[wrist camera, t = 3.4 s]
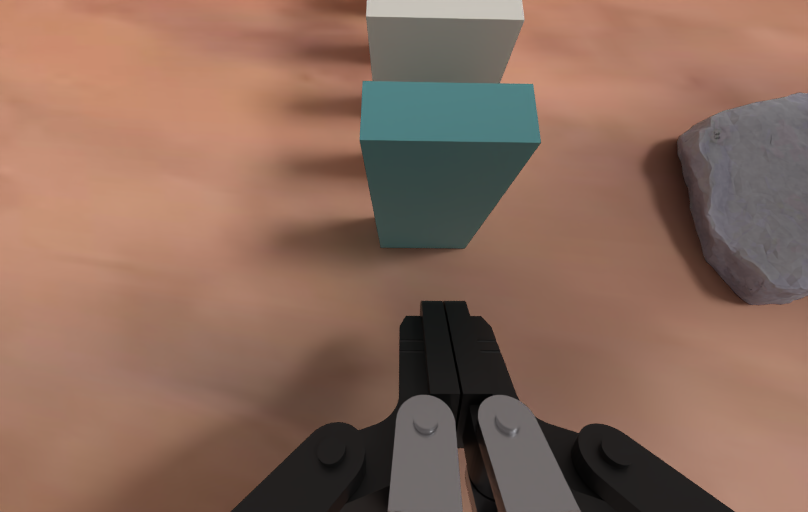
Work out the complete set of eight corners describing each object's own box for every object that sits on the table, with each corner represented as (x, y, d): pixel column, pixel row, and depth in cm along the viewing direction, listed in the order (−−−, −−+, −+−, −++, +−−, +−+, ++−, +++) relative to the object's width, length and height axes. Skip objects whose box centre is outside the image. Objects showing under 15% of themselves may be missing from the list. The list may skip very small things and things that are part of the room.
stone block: (706, 320, 19) (885, 277, 18) (782, 316, 14) (1030, 257, 13) (621, 163, 22) (767, 118, 21) (661, 119, 18) (850, 59, 17)
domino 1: (383, 152, 20) (368, -29, 10) (459, 153, 20) (518, -26, 10) (382, 179, 19) (366, 16, 9) (461, 180, 19) (524, 19, 10)
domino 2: (381, 216, 18) (362, 80, 9) (463, 217, 19) (533, 83, 9) (380, 247, 18) (359, 140, 8) (464, 248, 18) (541, 142, 8)
